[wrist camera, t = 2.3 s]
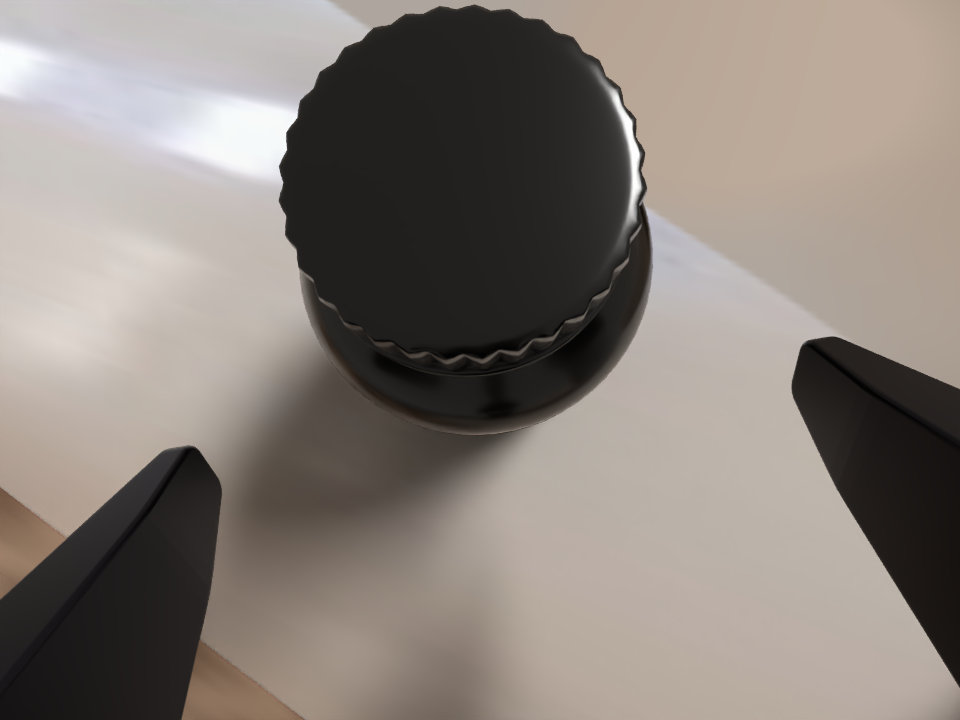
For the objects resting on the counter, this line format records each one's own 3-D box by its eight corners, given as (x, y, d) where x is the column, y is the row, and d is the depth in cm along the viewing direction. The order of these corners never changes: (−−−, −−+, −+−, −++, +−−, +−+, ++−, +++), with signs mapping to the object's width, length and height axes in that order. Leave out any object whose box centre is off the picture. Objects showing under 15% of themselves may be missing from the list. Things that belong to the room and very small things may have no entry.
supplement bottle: (357, 391, 19) (107, 338, 7) (424, 203, 20) (296, -133, 8) (554, 458, 19) (638, 520, 7) (617, 262, 19) (796, -4, 7)
